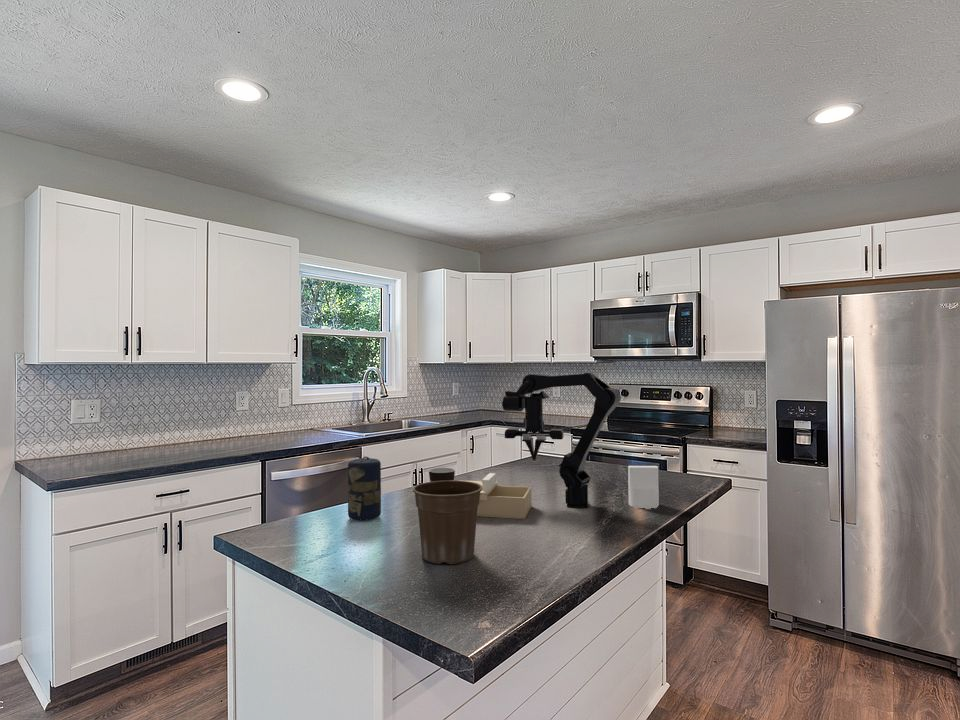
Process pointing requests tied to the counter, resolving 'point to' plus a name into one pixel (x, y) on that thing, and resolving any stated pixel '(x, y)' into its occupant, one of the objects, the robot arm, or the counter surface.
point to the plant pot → (447, 519)
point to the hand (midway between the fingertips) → (534, 460)
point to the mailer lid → (486, 485)
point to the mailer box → (506, 502)
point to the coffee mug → (441, 474)
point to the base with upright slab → (643, 486)
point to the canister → (364, 489)
